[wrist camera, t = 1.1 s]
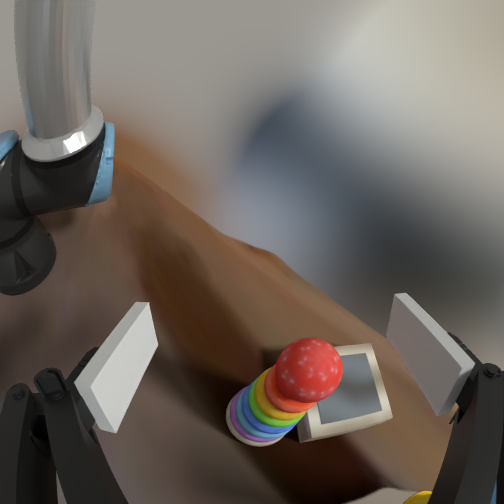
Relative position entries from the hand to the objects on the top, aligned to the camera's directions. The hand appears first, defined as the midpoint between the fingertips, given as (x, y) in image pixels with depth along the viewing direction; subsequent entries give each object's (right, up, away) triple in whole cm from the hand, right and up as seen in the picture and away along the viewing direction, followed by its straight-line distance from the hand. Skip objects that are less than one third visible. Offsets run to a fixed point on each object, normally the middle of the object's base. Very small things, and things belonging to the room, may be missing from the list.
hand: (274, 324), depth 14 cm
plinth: (+10, -16, +20) cm, 27 cm away
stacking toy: (-1, -17, +16) cm, 23 cm away
